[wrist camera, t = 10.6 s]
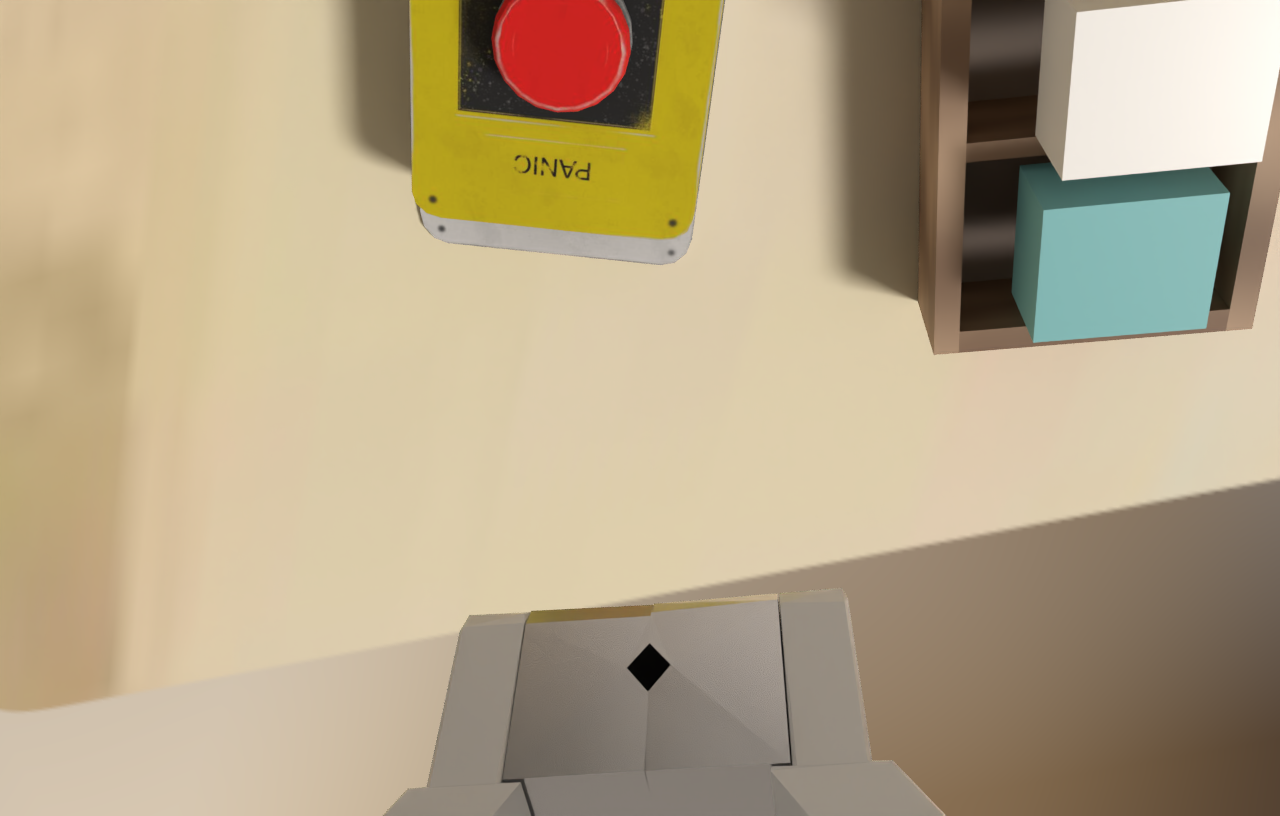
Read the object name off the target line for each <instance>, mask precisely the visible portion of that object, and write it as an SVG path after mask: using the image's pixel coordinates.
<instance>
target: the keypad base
mask: <svg viewBox="0 0 1280 816" xmlns="http://www.w3.org/2000/svg"><path fill="white" fill-rule="evenodd" d="M1044 7H1045V0H922V37H921V113H920V189H919V265H918V303H919V307H920V310H921V313H922V317H923V320H924V323H925V327H926V330H927V333H928V337H929V340H930V343H931V347H932V350H933V353H934V355H936V354H948V353H960V352H973V351H985V350H997V349H1009V348H1021V347H1034V346H1046V345H1058V344H1070V343H1082V342H1095V341H1107V340H1119V339H1131V338H1143V337H1156V336H1168V335H1180V334H1192V333H1204V332H1217V331H1229V330H1241V329H1252V326H1253V321H1254V316H1255V311H1256V306H1257V301H1258V296H1259V292H1260V287H1261V282H1262V277H1263V272H1264V267H1265V262H1266V257H1267V252H1268V247H1269V242H1270V237H1271V232H1272V227H1273V222H1274V218H1275V213H1276V208H1277V203H1278V198H1279V193H1280V69H1279V75H1278V80H1277V85H1276V90H1275V96H1274V101H1273V106H1272V111H1271V117H1270V122H1269V127H1268V132H1267V138H1266V143H1265V148H1264V153H1263V159H1262V162H1254V163H1243V164H1233V165H1222V166H1212V167H1209V168H1210V169H1211V171H1212V172H1213V173H1214V174H1215V175H1216V176H1217V178H1218V179H1219V180H1220V181H1221V182H1222V184H1223V185H1224V186H1225V187H1226V188H1227V190H1228V191H1229V192H1230V197H1229V203H1228V208H1227V214H1226V219H1225V225H1224V231H1223V236H1222V242H1221V248H1220V253H1219V259H1218V265H1217V270H1216V276H1215V282H1214V287H1213V293H1212V299H1211V304H1210V310H1209V316H1208V321H1207V327H1206V329H1194V330H1181V331H1169V332H1157V333H1145V334H1133V335H1121V336H1109V337H1096V338H1084V339H1072V340H1060V341H1048V342H1036V343H1033V341H1032V339H1031V336H1030V334H1029V332H1028V329H1027V327H1026V325H1025V323H1024V320H1023V318H1022V316H1021V313H1020V311H1019V309H1018V306H1017V304H1016V302H1015V299H1014V297H1013V295H1012V278H1013V262H1014V247H1015V231H1016V216H1017V201H1018V185H1019V170H1020V165H1029V164H1039V163H1050V162H1051V161H1050V159H1049V158H1048V156H1047V154H1046V153H1045V151H1044V149H1043V148H1042V146H1041V144H1040V142H1039V141H1038V139H1037V137H1036V136H1035V132H1036V118H1037V104H1038V90H1039V76H1040V62H1041V48H1042V34H1043V21H1044Z"/></svg>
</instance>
